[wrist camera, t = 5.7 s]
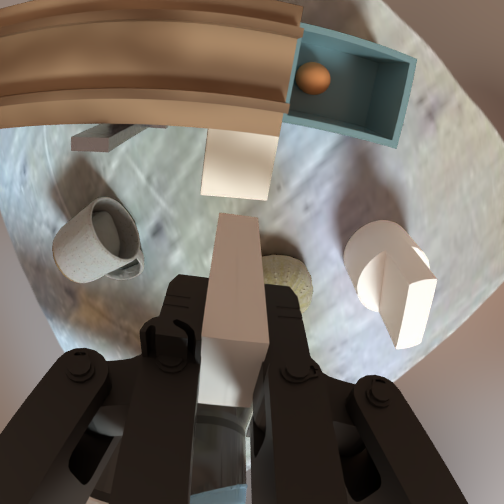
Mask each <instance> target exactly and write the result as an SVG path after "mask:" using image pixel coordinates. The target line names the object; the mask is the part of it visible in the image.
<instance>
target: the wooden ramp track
mask: <svg viewBox="0 0 504 504" xmlns="http://www.w3.org/2000/svg"><path fill="white" fill-rule="evenodd" d="M302 12H303V6H298V5H294V4H290V3H286V2H281V1H276V0H33V1H29V2H25V3H21V4H17V5H13V6H9V7H6V8H2V9H0V129H2V128H12V127H24V126H38V125H57V124H149V125H169V126H184V127H197V128H208V132H207V139H206V148H205V156H204V164H203V173H202V182H201V195H209V196H221V197H233V198H245V199H255V200H266V201H267V197H268V192H269V187H270V181H271V176H272V171H273V166H274V161H275V155H276V150H277V145H278V140H279V134H280V129H281V124H282V119H283V113H286V114H288V112H289V107H290V104H289V103H286V97H287V92H288V87H289V81H290V76H291V71H292V65H293V60H294V55H295V49H296V44H297V39H299V38H303V32H304V28H301V27H300V22H301V17H302Z"/></svg>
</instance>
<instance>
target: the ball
mask: <svg viewBox="0 0 504 504" xmlns="http://www.w3.org/2000/svg"><path fill="white" fill-rule="evenodd" d="M295 79H296V83H297V85H298V87H299V88H300V89H301V90H302V91H303V92H305V93H307V94H310V95H318V94H321V93H323V92H324V91H326V90H327V88H328V87H329V85H330V80H331V78H330V74H329V71H328V70H327V69H326V68H325V67H324V66H323V65H321V64H319V63H316V62H308V63H305V64H303V65H301V66H300V67H299V68H298V70H297V72H296V76H295Z"/></svg>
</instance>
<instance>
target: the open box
mask: <svg viewBox="0 0 504 504" xmlns="http://www.w3.org/2000/svg"><path fill="white" fill-rule="evenodd" d="M300 27H301V28H304V32H303V38H299V39H297V44H296V49H295V55H294V60H293V65H292V71H291V76H290V81H289V87H288V92H287V97H286V103H289V104H290V107H289V112H288V114H286V113H283V119H282V122H284V123H290V124H295V125H300V126H305V127H310V128H315V129H320V130H324V131H329V132H333V133H338V134H342V135H346V136H350V137H354V138H358V139H362V140H366V141H370V142H374V143H377V144H381V145H385V146H388V147H392V148H395V149H397V145H398V141H399V137H400V134H401V130H402V126H403V122H404V118H405V114H406V109H407V105H408V101H409V96H410V92H411V87H412V83H413V78H414V73H415V68H416V63H417V59H416V58H413V57H411V56H408V55H406V54H403V53H401V52H398V51H396V50H393V49H390V48H388V47H385V46H382V45H379V44H376V43H373V42H370V41H367V40H364V39H361V38H358V37H355V36H351V35H348V34H345V33H341V32H337V31H334V30H330V29H326V28H322V27H318V26H314V25H310V24H305V23H301V22H300ZM308 62H316V63H319V64H321V65H323V66H324V67H325V68H326V69H327V70H328V71H329V74H330V78H331V80H330V85H329V87H328V88H327V90H326V91H324V92H323V93H321V94H318V95H310V94H307V93H305V92H303V91H302V90H301V89H300V88H299V87H298V85H297V83H296V79H295V76H296V72H297V70H298V68H299V67H300V66H301V65H303V64H305V63H308Z"/></svg>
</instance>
